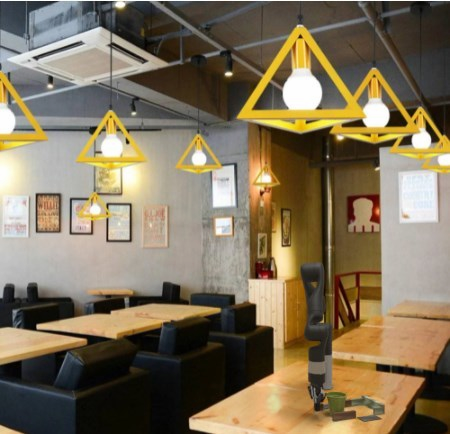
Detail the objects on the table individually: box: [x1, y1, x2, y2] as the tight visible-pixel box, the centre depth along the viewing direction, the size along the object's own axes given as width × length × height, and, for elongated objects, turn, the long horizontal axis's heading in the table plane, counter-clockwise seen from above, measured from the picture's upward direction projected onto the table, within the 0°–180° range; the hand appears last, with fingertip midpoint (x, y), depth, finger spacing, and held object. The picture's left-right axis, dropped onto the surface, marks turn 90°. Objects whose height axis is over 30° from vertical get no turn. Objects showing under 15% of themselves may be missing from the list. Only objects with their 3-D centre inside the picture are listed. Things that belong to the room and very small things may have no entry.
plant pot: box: [326, 390, 348, 416], centre depth 230 cm, size 9×9×9 cm
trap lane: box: [319, 394, 386, 423], centre depth 233 cm, size 25×26×4 cm
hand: (317, 411), depth 227 cm, fingers closed
